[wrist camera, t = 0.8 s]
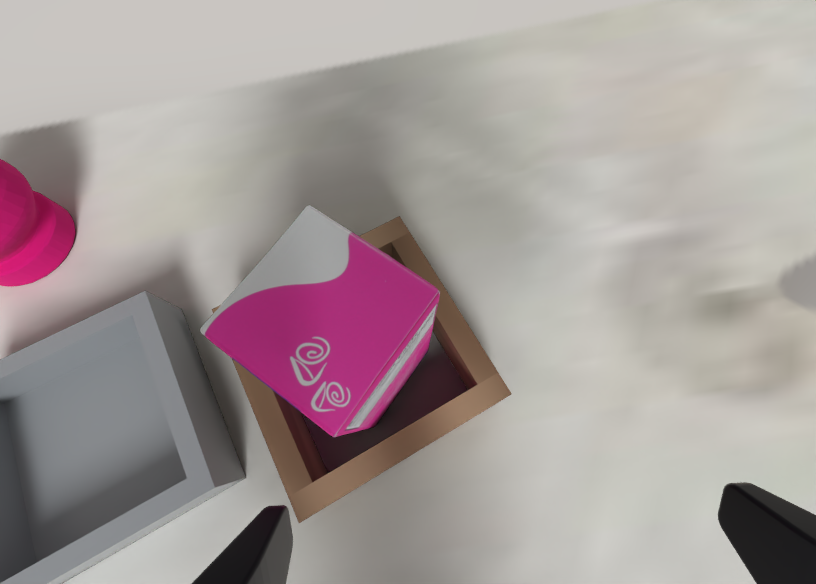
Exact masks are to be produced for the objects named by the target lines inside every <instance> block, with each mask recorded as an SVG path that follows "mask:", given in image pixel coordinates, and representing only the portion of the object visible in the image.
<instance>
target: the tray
mask: <svg viewBox="0 0 816 584" xmlns="http://www.w3.org/2000/svg"><path fill="white" fill-rule="evenodd" d="M245 478H246V477H245V474H244V471H243V469H242V466H241V464H240V461H239V458H238V456H237V453H236V450H235V448H234V445H233V443H232V440H231V437H230V435H229V432H228V429H227V427H226V424H225V422H224V419H223V416H222V414H221V411H220V408H219V406H218V403H217V401H216V398H215V395H214V393H213V390H212V387H211V385H210V382H209V380H208V377H207V374H206V372H205V369H204V366H203V364H202V361H201V359H200V356H199V353H198V351H197V348H196V346H195V343H194V340H193V338H192V335H191V332H190V330H189V327H188V325H187V322H186V319H185V317H184V314H183V311H182V309H180V308H178V307H176V306H174V305H173V304H171V303H169V302H167V301H165V300H163V299H161V298H159V297H157V296H155V295H153V294H151V293H149V292H147V291H143V292H141V293H139V294H137V295H135V296H133V297H131V298H129V299H127V300H124V301H122V302H120V303H118V304H116V305H114V306H112V307H110V308H108V309H106V310H103V311H101V312H99V313H97V314H95V315H93V316H91V317H89V318H87V319H85V320H82V321H80V322H78V323H76V324H74V325H72V326H70V327H68V328H66V329H64V330H61V331H59V332H57V333H55V334H53V335H51V336H49V337H47V338H45V339H43V340H40V341H38V342H36V343H34V344H32V345H30V346H28V347H26V348H24V349H22V350H19V351H17V352H15V353H13V354H11V355H9V356H7V357H5V358H3V359H1V360H0V584H62V583H64V582H66V581H67V580H69V579H71V578H73V577H74V576H76V575H78V574H80V573H81V572H83V571H85V570H86V569H88V568H90V567H92V566H93V565H95V564H97V563H99V562H100V561H102V560H104V559H106V558H107V557H109V556H111V555H113V554H114V553H116V552H118V551H120V550H121V549H123V548H125V547H127V546H128V545H130V544H132V543H133V542H135V541H137V540H139V539H140V538H142V537H144V536H146V535H147V534H149V533H151V532H153V531H154V530H156V529H158V528H160V527H161V526H163V525H165V524H167V523H168V522H170V521H172V520H173V519H175V518H177V517H179V516H180V515H182V514H184V513H186V512H187V511H189V510H191V509H193V508H194V507H196V506H198V505H200V504H201V503H203V502H205V501H207V500H208V499H210V498H212V497H214V496H215V495H217V494H219V493H220V492H222V491H224V490H226V489H227V488H229V487H231V486H233V485H234V484H236V483H238V482H240V481H241V480H243V479H245Z"/></svg>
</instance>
